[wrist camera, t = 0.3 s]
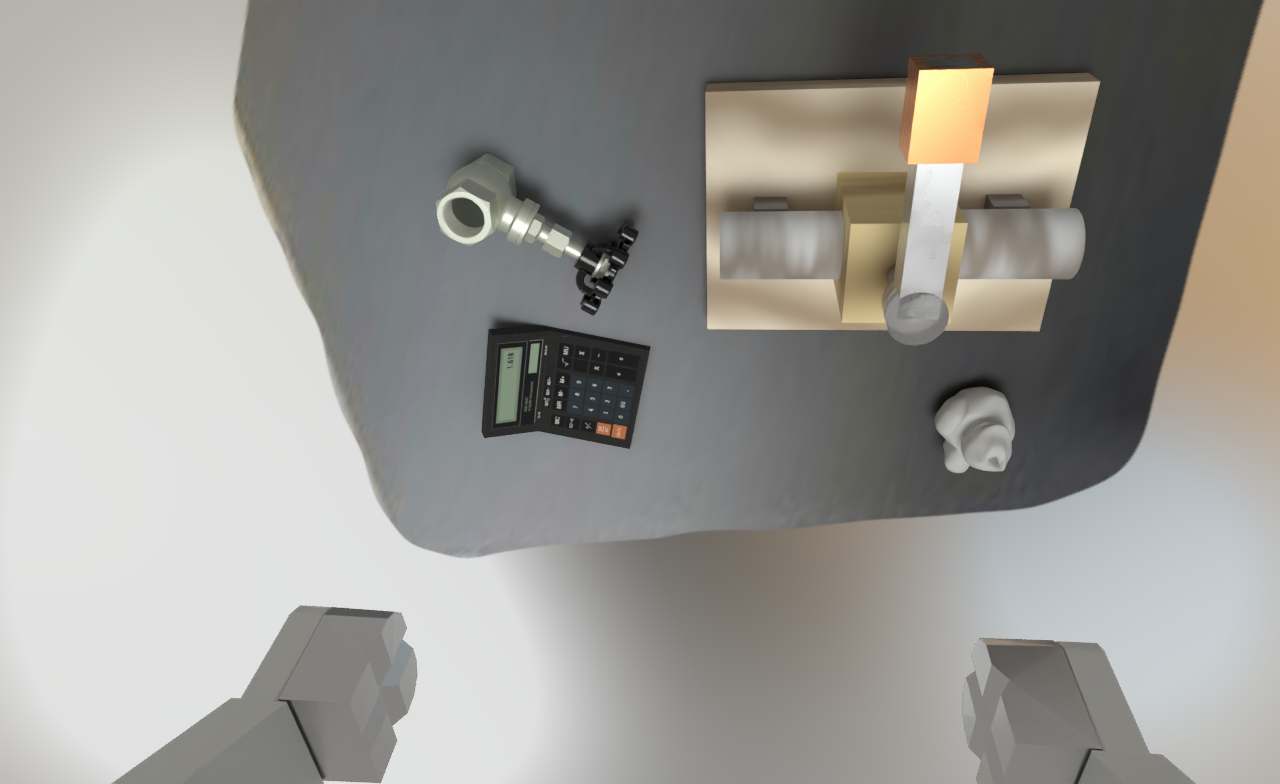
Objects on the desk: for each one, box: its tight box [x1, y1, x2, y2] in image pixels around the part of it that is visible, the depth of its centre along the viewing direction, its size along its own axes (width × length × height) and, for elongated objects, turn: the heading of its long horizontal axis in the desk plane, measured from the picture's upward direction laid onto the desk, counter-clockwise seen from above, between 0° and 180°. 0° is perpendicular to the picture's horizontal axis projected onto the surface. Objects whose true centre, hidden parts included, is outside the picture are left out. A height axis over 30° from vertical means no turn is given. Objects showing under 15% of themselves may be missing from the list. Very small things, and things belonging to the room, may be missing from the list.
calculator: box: [482, 326, 650, 449], centre depth 63 cm, size 9×12×3 cm
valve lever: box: [881, 54, 994, 345], centre depth 40 cm, size 14×3×3 cm, turn 3°
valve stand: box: [705, 73, 1100, 331], centre depth 49 cm, size 16×22×13 cm
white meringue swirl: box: [935, 387, 1015, 473], centre depth 59 cm, size 5×7×8 cm
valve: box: [436, 153, 639, 315], centre depth 54 cm, size 7×7×12 cm
